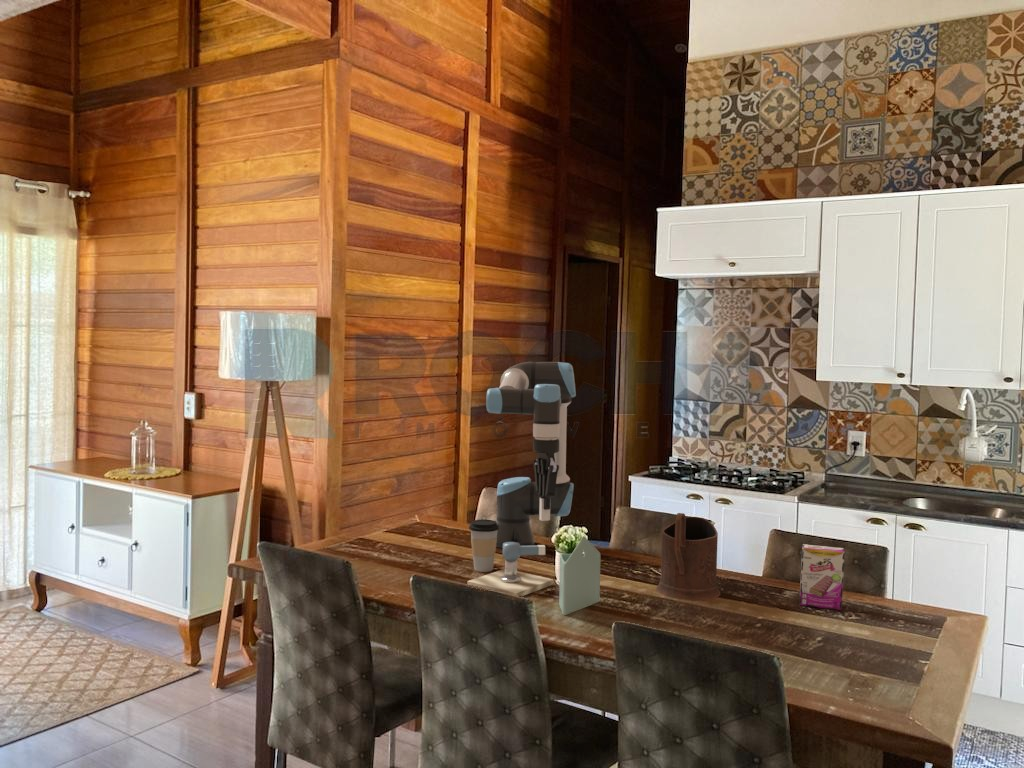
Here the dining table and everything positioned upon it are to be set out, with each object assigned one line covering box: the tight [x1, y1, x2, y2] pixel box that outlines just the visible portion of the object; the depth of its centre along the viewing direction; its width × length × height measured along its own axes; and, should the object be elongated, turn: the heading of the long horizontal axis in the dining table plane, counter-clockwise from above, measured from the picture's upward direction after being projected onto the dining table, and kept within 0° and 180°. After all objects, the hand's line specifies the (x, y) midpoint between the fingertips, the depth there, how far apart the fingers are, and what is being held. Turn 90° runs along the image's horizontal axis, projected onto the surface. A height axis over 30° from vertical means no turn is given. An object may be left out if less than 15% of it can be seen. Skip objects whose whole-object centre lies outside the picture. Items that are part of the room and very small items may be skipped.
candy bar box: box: [799, 543, 845, 611], centre depth 239 cm, size 11×5×16 cm, turn 71°
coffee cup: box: [468, 518, 499, 573], centre depth 270 cm, size 9×9×15 cm
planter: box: [558, 535, 601, 616], centre depth 235 cm, size 16×8×20 cm, turn 140°
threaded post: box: [500, 559, 521, 583], centre depth 253 cm, size 6×6×6 cm
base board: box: [466, 568, 554, 597], centre depth 254 cm, size 18×18×2 cm
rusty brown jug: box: [655, 512, 722, 602], centre depth 248 cm, size 18×24×25 cm
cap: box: [502, 542, 546, 560], centre depth 254 cm, size 12×5×4 cm, turn 99°
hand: (544, 520), depth 248 cm, fingers closed
